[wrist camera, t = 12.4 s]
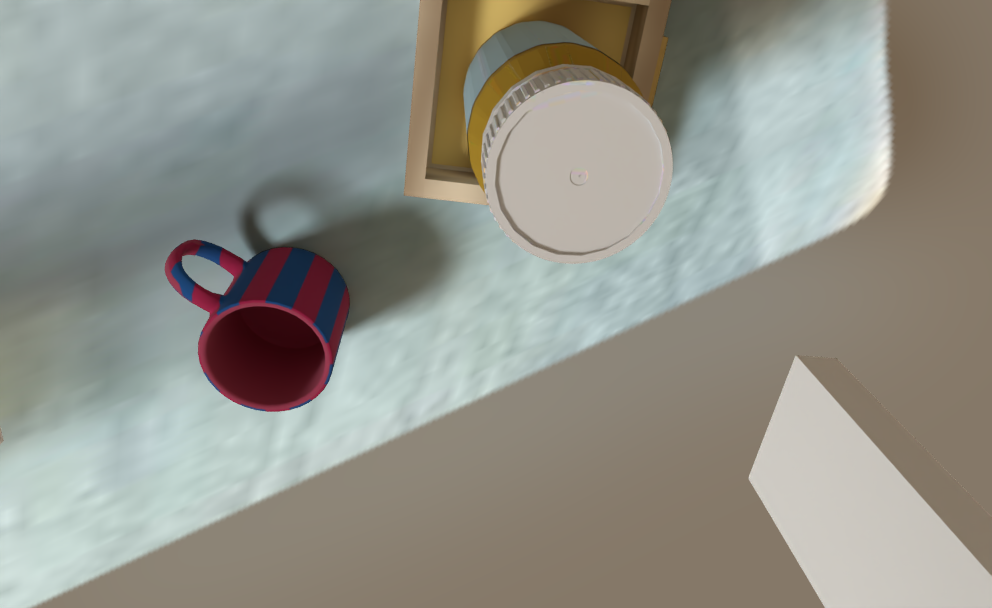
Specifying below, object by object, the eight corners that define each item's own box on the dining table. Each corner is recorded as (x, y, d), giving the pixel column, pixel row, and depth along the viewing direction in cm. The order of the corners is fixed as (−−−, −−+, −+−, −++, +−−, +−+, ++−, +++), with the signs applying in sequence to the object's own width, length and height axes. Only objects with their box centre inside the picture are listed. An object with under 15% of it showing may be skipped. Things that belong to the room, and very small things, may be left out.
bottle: (625, 67, 35) (731, 140, 22) (549, 181, 38) (603, 308, 24) (509, -11, 33) (550, 16, 20) (438, 115, 36) (431, 214, 22)
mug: (290, 365, 43) (264, 432, 37) (167, 247, 39) (115, 301, 33) (373, 307, 42) (360, 368, 36) (253, 178, 38) (216, 222, 32)
